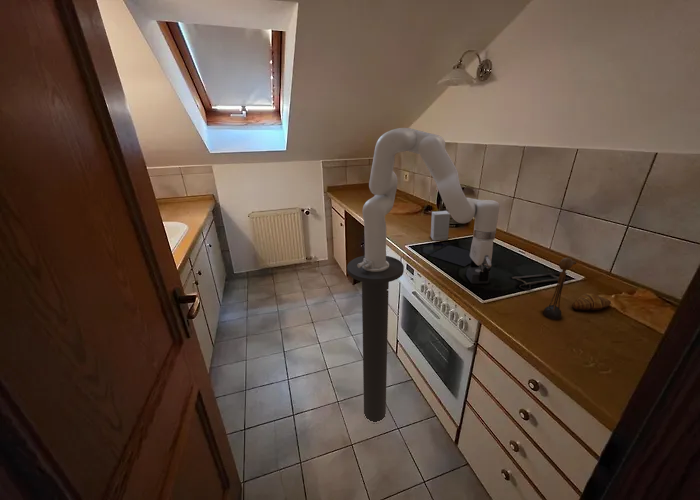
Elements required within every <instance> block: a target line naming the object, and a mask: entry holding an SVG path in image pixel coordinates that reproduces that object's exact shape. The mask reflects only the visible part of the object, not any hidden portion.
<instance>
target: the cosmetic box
mask: <svg viewBox="0 0 700 500" xmlns="http://www.w3.org/2000/svg"><path fill="white" fill-rule="evenodd" d="M450 218H451V215H450V213H449V211H448V210H438V211H431V219H430V220H431V221H430V222H431V223H430V238H431V240H432V241H433V242H434V241H435V242H436V241H448V240H449V232H450V221H451V219H450Z"/></svg>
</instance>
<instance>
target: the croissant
mask: <svg viewBox="0 0 700 500" xmlns="http://www.w3.org/2000/svg"><path fill="white" fill-rule="evenodd" d="M611 304H612V301H611V300H610V299H608V298H605V297H603V296H599V295H598V294H595V293H590V292H589V293H587V292H586V293H584V294H582V295H581V296H580V297H579V298H577V299H576V300H574V302H573V303H572V305H571V308H572V309H573V310H576V311H583V312H588V311H600V310H602V309H606V308H608V307H610V305H611Z"/></svg>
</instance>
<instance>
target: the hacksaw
mask: <svg viewBox="0 0 700 500" xmlns="http://www.w3.org/2000/svg"><path fill="white" fill-rule="evenodd" d="M562 271H563V270H562ZM562 271H557V272H556V271H555V272H548V273H538V274H530V275H529V274H528V275H522V276H521V275H520V276H517V275H516V276H511V279H513V280H517V281H519V282H522V284H520V285H519V286H518V287H519V289H522V290H524V291H525V290H526V291H528V290H531V289H532V287H531V286H533V285H537V284H542V283H549V282H558V279H559V276H560V272H562ZM545 276H549V277H552V278H549V279H542V280H534V281H529V282H527V281H525V280H523V279H526V278H527V279H528V278H535V277H545ZM560 278H561V277H560ZM565 280H568V281H569V282H571V281H572V280H571V279H570V278H569V277H565ZM522 286H528V288H523V287H522Z"/></svg>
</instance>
